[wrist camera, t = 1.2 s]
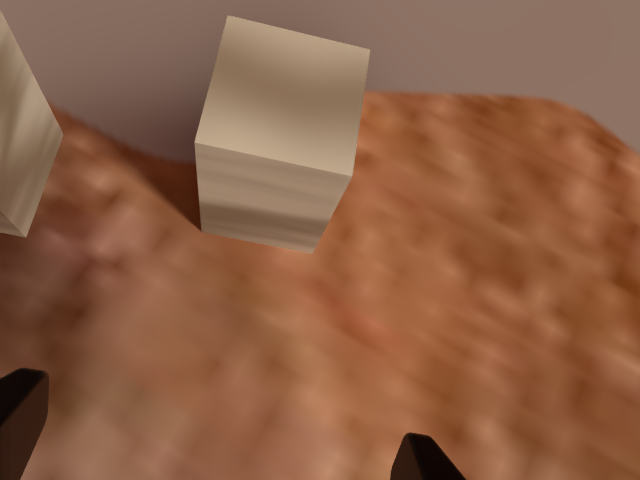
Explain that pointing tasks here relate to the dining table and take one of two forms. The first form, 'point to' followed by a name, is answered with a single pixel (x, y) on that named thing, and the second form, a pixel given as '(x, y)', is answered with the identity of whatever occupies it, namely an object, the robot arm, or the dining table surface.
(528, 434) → the dining table surface
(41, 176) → the marked block 1
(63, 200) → the dining table surface
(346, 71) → the plain block
